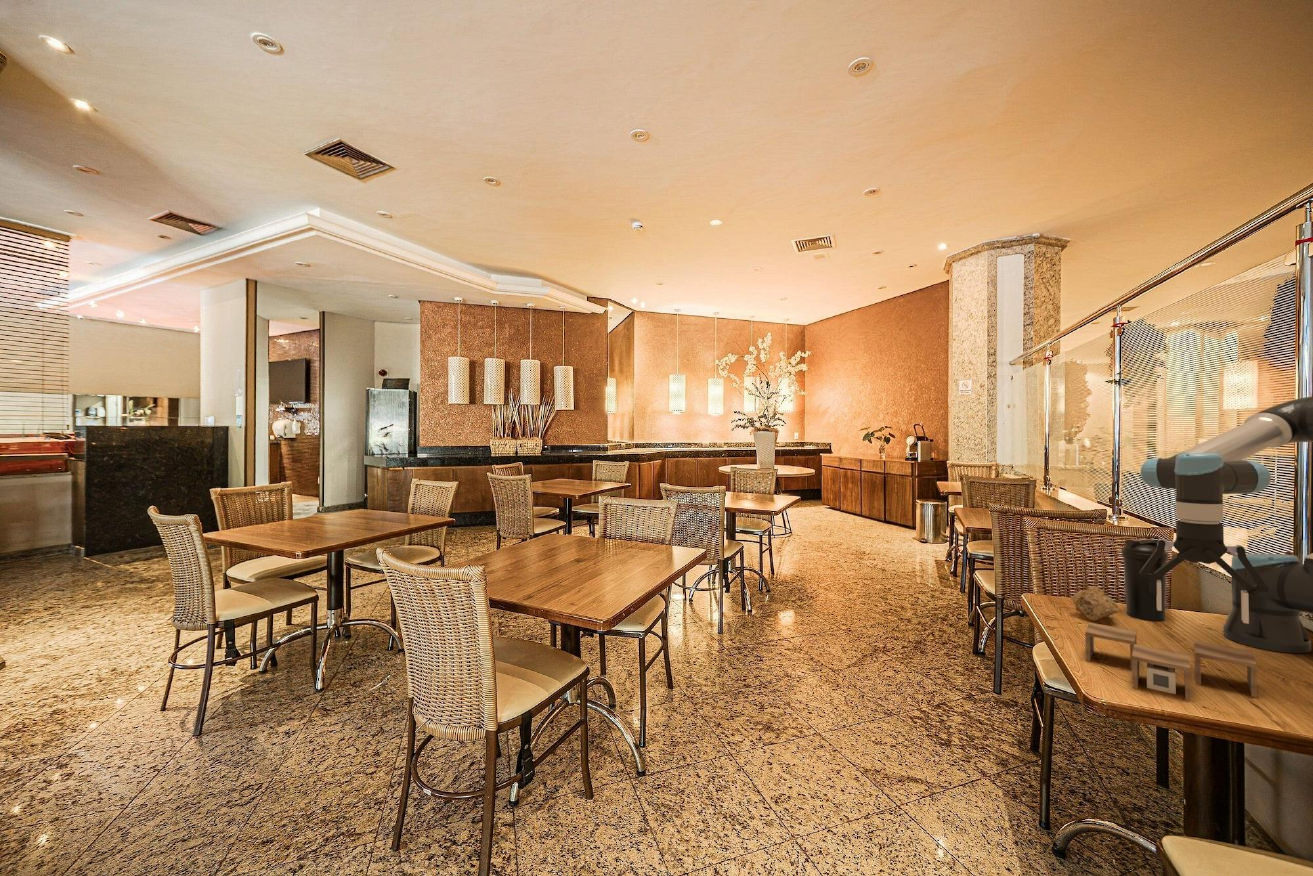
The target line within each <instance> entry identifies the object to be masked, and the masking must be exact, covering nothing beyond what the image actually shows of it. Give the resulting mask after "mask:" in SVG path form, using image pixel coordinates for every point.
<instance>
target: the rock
mask: <svg viewBox="0 0 1313 876" xmlns="http://www.w3.org/2000/svg"><path fill="white" fill-rule="evenodd" d="M1070 600H1071V601H1072V602H1073V604H1074V605H1075V611H1077V612H1079V613H1080V614H1082V615H1084V616H1085V617H1086V618H1087V619H1088V620H1090V621H1093V622H1095V621H1096V622H1097V621H1099V620H1100V619H1107V618H1109V617H1110V616H1113V614H1117V613H1118V612H1119V611H1118V608H1119V606H1118V604H1117V602H1115V601H1114V600H1113V598H1111V597H1109V595H1107V594H1106V593H1104V591H1103V590H1102V589H1101V588H1099V587H1098V586H1094V585H1093V586H1092V585H1091V586H1090V587H1088V588H1087V589H1085V590H1084V589H1083V590H1079V591H1078V592H1076V593H1074V594H1073V595H1072V596H1071V597H1070Z"/></svg>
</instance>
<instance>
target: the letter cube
mask: <svg viewBox="0 0 1313 876" xmlns="http://www.w3.org/2000/svg"><path fill="white" fill-rule="evenodd" d="M1176 686H1177V685H1176V669H1174V668H1170V667H1165V666H1160V665H1155V664H1150V663H1146V688H1147V689H1151V690H1156V691H1160V692H1164V693H1168V694H1174V695H1176V694H1177V690H1176V689H1177V688H1176Z"/></svg>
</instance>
